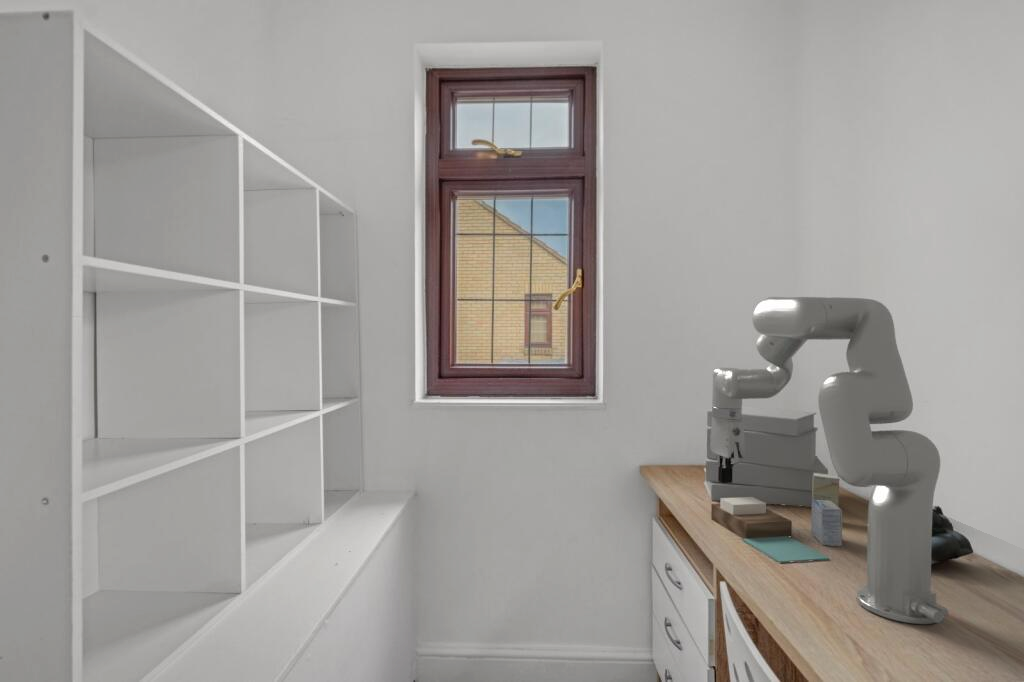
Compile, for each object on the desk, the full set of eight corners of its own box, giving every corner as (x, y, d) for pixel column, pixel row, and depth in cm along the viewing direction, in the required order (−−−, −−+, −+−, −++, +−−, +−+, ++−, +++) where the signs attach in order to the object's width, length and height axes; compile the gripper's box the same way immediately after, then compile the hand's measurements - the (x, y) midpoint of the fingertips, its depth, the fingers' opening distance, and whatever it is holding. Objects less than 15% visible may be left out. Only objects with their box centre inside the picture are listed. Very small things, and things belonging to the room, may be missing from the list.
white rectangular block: (766, 513, 146) (766, 503, 146) (733, 514, 144) (733, 504, 144) (752, 506, 152) (752, 496, 152) (720, 507, 150) (720, 498, 150)
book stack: (841, 513, 160) (843, 420, 160) (708, 504, 168) (709, 415, 168) (810, 486, 190) (811, 407, 189) (698, 479, 197) (699, 403, 197)
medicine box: (842, 547, 134) (842, 509, 134) (821, 545, 135) (821, 508, 135) (830, 535, 142) (831, 500, 142) (811, 534, 143) (811, 499, 143)
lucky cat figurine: (903, 570, 121) (875, 503, 127) (890, 573, 131) (865, 510, 137) (985, 557, 117) (951, 488, 123) (965, 561, 127) (935, 497, 134)
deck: (791, 537, 140) (791, 521, 140) (746, 540, 138) (746, 523, 138) (752, 517, 156) (752, 502, 156) (711, 519, 154) (711, 504, 154)
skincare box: (811, 521, 153) (812, 475, 152) (811, 517, 156) (812, 472, 156) (838, 525, 150) (839, 478, 150) (838, 520, 154) (839, 474, 153)
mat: (829, 559, 126) (829, 558, 126) (779, 563, 124) (779, 561, 124) (787, 537, 140) (787, 536, 140) (742, 540, 138) (742, 538, 138)
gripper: (756, 418, 149) (754, 489, 150) (724, 409, 164) (723, 474, 165) (729, 418, 148) (727, 490, 149) (700, 410, 163) (698, 475, 163)
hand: (725, 481), depth 157 cm, fingers closed
